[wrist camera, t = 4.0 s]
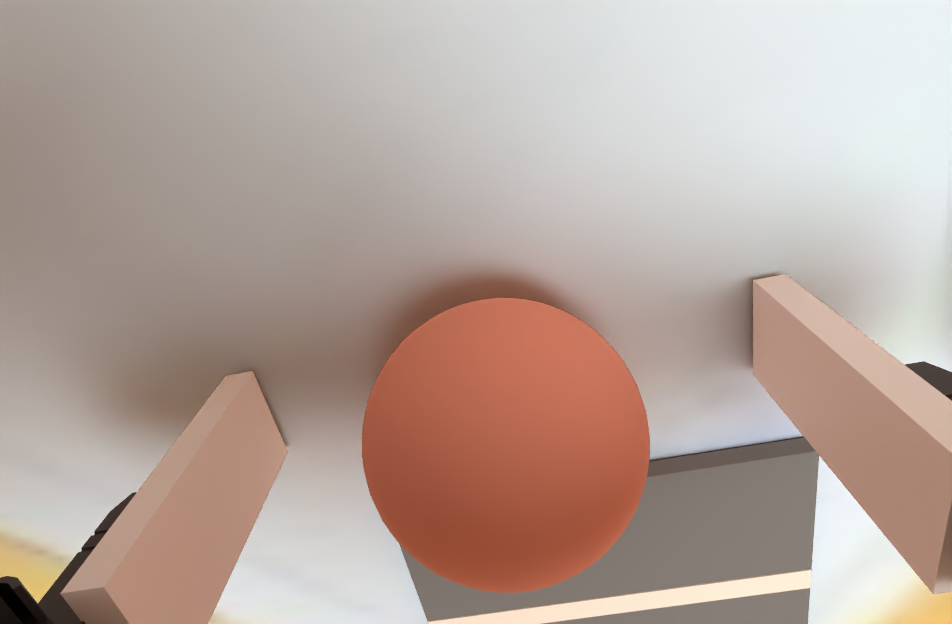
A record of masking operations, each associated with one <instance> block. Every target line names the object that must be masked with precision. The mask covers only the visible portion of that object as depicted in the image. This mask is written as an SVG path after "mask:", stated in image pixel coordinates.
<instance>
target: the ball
mask: <svg viewBox="0 0 952 624" xmlns="http://www.w3.org/2000/svg"><path fill="white" fill-rule="evenodd" d="M362 457H363V466H364V472H365V476H366V480H367V484H368V487H369V491H370V494H371V497H372V499H373V501H374V503H375V506H376V508H377V510H378V512H379V514H380V516H381V518H382V520H383V522H384V523H385V525H386V526H387V528H388V529H389V531H390V532H391V533H392V535H393V536H394V537H395V539H396V540H397V541H398V542H399V543H400V545H401V546H402V547H403V548H404V549H405V550H406V551H407V552H408V553H409V554H410V555H411V556H413V557H414V558H415V559H416V560H417V561H419V562H420V563H421V564H423V565H424V566H425V567H427V568H428V569H430V570H431V571H433V572H434V573H436V574H438V575H440V576H441V577H443V578H445V579H447V580H450V581H452V582H455V583H457V584H460V585H463V586H466V587H470V588H473V589H477V590H482V591H488V592H497V593H518V592H528V591H533V590H539V589H542V588H546V587H549V586H552V585H555V584H557V583H560V582H562V581H565V580H567V579H569V578H571V577H573V576H575V575H577V574H579V573H580V572H582V571H583V570H585V569H587V568H588V567H590V566H591V565H592V564H593V563H595V562H596V561H597V560H598V559H599V558H601V557H602V556H603V555H604V554H605V553H606V552H607V551H608V550H609V549H610V548H611V547H612V546H613V544H614V543H615V542H616V541H617V540H618V539H619V537H620V536H621V534H622V533H623V532H624V530H625V529H626V527H627V525H628V524H629V522H630V521H631V519H632V517H633V515H634V513H635V511H636V509H637V507H638V504H639V501H640V498H641V495H642V492H643V489H644V486H645V483H646V479H647V473H648V467H649V457H650V436H649V427H648V421H647V415H646V410H645V407H644V404H643V401H642V398H641V395H640V393H639V390H638V387H637V384H636V382H635V381H634V379H633V377H632V375H631V373H630V372H629V370H628V368H627V366H626V365H625V363H624V361H623V360H622V359H621V357H620V356H619V355H618V354H617V352H616V351H615V350H614V348H613V347H612V346H611V345H610V344H609V343H608V342H607V341H606V340H605V339H604V338H603V337H601V336H600V335H599V334H598V333H597V332H596V331H595V330H594V329H593V328H591V327H590V326H588V325H587V324H586V323H584V322H583V321H581V320H580V319H578V318H576V317H574V316H572V315H570V314H568V313H567V312H565V311H563V310H561V309H558V308H555V307H553V306H550V305H547V304H544V303H540V302H536V301H532V300H526V299H518V298H491V299H483V300H477V301H473V302H469V303H465V304H461V305H458V306H456V307H453V308H451V309H448V310H446V311H444V312H442V313H440V314H438V315H436V316H434V317H433V318H431V319H430V320H428V321H427V322H425V323H424V324H422V325H421V326H420V327H418V328H417V329H416V330H414V331H413V332H412V333H411V334H410V335H409V336H408V337H407V338H405V339H404V340H403V341H402V342H401V343H400V345H399V346H398V347H397V349H396V350H395V351H394V352H393V354H392V355H391V356H390V357H389V359H388V360H387V361H386V363H385V365H384V366H383V368H382V370H381V371H380V373H379V375H378V377H377V379H376V382H375V384H374V386H373V389H372V391H371V394H370V397H369V399H368V403H367V407H366V412H365V417H364V422H363V429H362Z"/></svg>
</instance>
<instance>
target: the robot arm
mask: <svg viewBox="0 0 952 624" xmlns="http://www.w3.org/2000/svg"><path fill="white" fill-rule="evenodd" d="M753 375H754V376H755V378H756V379H757V380H758V381H759V382H760V384H761V385H762V386H763V387H764V388H765V390H766V391H767V392H768V393H769V395H770V396H771V397H772V398H773V399H774V401H775V402H776V403H777V404H778V406H779V407H780V408H781V409H782V410H783V412H784V413H785V414H786V415H787V417H788V418H789V419H790V420H791V421H792V423H793V424H794V425H795V426H796V428H797V429H798V430H799V431H800V432H801V434H802V435H803V436H804V437H805V438H806V440H807V441H808V442H809V443H810V445H811V446H812V447H813V448H814V449H815V451H816V452H817V453H818V454H819V456H820V457H821V458H822V459H823V460H824V462H825V463H826V464H827V465H828V467H829V468H830V469H831V470H832V471H833V473H834V474H835V475H836V476H837V478H838V479H839V480H840V481H841V482H842V484H843V485H844V486H845V487H846V488H847V490H848V491H849V492H850V493H851V495H852V496H853V497H854V498H855V499H856V501H857V502H858V503H859V504H860V506H861V507H862V508H863V509H864V510H865V512H866V513H867V514H868V515H869V517H870V518H871V519H872V520H873V521H874V523H875V524H876V525H877V526H878V527H879V529H880V530H881V531H882V532H883V534H884V535H885V536H886V537H887V538H888V540H889V541H890V542H891V543H892V545H893V546H894V547H895V548H896V549H897V551H898V552H899V553H900V554H901V556H902V557H903V558H904V559H905V560H906V562H907V563H908V564H909V565H910V567H911V568H912V569H913V570H914V571H915V573H916V574H917V575H918V576H919V577H920V579H921V580H922V581H923V582H924V584H925V585H926V586H927V587H928V588H929V590H930V591H931V592H932V593H933V594H937V593H945V592H952V372H949V371H947V370H944V369H942V368H939V367H937V366H934V365H932V364H929V363H926V362H918V363H912V364H906V365H904V364H903V363H901V362H900V361H899V360H897V359H896V358H895V357H893V356H892V355H891V354H890V353H888V352H887V351H886V350H884V349H883V348H882V347H880V346H879V345H878V344H876V343H875V342H874V341H872V340H871V339H870V338H869V337H867V336H866V335H865V334H863V333H862V332H861V331H859V330H858V329H857V328H855V327H854V326H853V325H851V324H850V323H849V322H848V321H846V320H845V319H844V318H842V317H841V316H840V315H838V314H837V313H836V312H834V311H833V310H832V309H830V308H829V307H828V306H827V305H825V304H824V303H823V302H821V301H820V300H819V299H817V298H816V297H815V296H813V295H812V294H811V293H809V292H808V291H807V290H806V289H804V288H803V287H802V286H800V285H799V284H798V283H796V282H795V281H794V280H792V279H791V278H790V277H788V276H787V275H786V274H783V275H778V276H772V277H767V278H761V279H756V280H753ZM287 453H288V451H287V449H286V446H285V444H284V442H283V439H282V437H281V435H280V433H279V430H278V428H277V426H276V423H275V421H274V419H273V417H272V414H271V412H270V410H269V407H268V405H267V403H266V400H265V398H264V396H263V394H262V391H261V389H260V387H259V384H258V382H257V380H256V378H255V375H254V373H253V371H249V372H243V373H238V374H232V375H227V376H225V377H224V378H223V380H222V381H221V382H220V384H219V385H218V386H217V388H216V389H215V390H214V392H213V393H212V394H211V395H210V397H209V398H208V399H207V401H206V402H205V403H204V405H203V406H202V407H201V409H200V410H199V411H198V413H197V414H196V415H195V417H194V418H193V419H192V420H191V422H190V423H189V424H188V426H187V427H186V428H185V430H184V431H183V432H182V434H181V435H180V436H179V438H178V439H177V440H176V442H175V443H174V444H173V446H172V447H171V448H170V449H169V451H168V452H167V453H166V455H165V456H164V457H163V459H162V460H161V461H160V463H159V464H158V465H157V467H156V468H155V469H154V471H153V472H152V473H151V475H150V476H149V477H148V478H147V480H146V481H145V482H144V484H143V485H142V486H141V488H140V489H139V490H138V492H135V493H132V494H131V495H129V496H128V497H127V498H126V499H125V500H123V501H122V502H121V503H120V504H119V505H118V506H116V507H115V508H114V509H113V510H112V511H110V513H109V514H108V515H107V516H106V518H105V519H104V520H103V521H102V523H101V524H100V525H99V527H98V528H97V529H96V530H95V535H93V536H91V537H90V538H89V539H88V541H87V542H86V543H85V544H84V546H83V547H82V551H81V552H78V553H77V555H76V556H75V557H74V558H73V560H72V561H71V562H70V564H69V565H68V566H67V567H66V569H65V570H64V571H63V572H62V574H61V575H60V576H59V578H58V579H57V580H56V581H55V583H54V584H53V585H52V586H51V588H50V589H49V590H48V592H47V593H46V594H45V595H44V597H43V598H42V599H41V600H40V602H39V603H37V602H36V601H35V600H34V598H33V597H32V596H31V594H30V593H29V592H28V591H27V589H26V588H25V587H24V586H23V584H22V583H21V582H20V580H19V579H18V578H16V577H10V576H6V577H1V578H0V624H208V622H209V620H210V618H211V616H212V614H213V612H214V610H215V607H216V605H217V603H218V601H219V599H220V597H221V595H222V592H223V590H224V588H225V586H226V584H227V582H228V579H229V577H230V575H231V573H232V571H233V569H234V567H235V564H236V562H237V560H238V558H239V556H240V554H241V552H242V549H243V547H244V545H245V543H246V541H247V539H248V537H249V534H250V532H251V530H252V528H253V526H254V524H255V522H256V519H257V517H258V515H259V513H260V511H261V509H262V506H263V504H264V502H265V500H266V498H267V496H268V494H269V491H270V489H271V487H272V485H273V483H274V481H275V479H276V476H277V474H278V472H279V470H280V468H281V466H282V464H283V461H284V459H285V457H286V455H287Z"/></svg>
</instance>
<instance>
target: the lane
mask: <svg viewBox="0 0 952 624" xmlns="http://www.w3.org/2000/svg"><path fill="white" fill-rule="evenodd" d="M818 462H819V454H818V453H817V452H816V451H815V449H814V448H813V447H812V446H811V445H810V443H809V442H808V441H807V440H806V438H805V437H803V438H796V439H790V440H784V441H777V442H771V443H764V444H758V445H752V446H745V447H739V448H732V449H726V450H720V451H713V452H707V453H700V454H694V455H688V456H681V457H675V458H668V459H662V460H656V461H649V467H648V473H647V479H646V483H645V486H644V489H643V492H642V495H641V498H640V501H639V504H638V507H637V509H636V511H635V513H634V515H633V517H632V519H631V521H630V522H629V524H628V525H627V527H626V529H625V530H624V532H623V533H622V534H621V536H620V537H619V539H618V540H617V541H616V542H615V543H614V544H613V546H612V547H611V548H610V549H609V550H608V551H607V552H606V553H605V554H604V555H603V556H602V557H601V558H599V559H598V560H597V561H596V562H595V563H593V564H592V565H591V566H590V567H588V568H587V569H585V570H583V571H582V572H580V573H579V574H577V575H575V576H573V577H571V578H569V579H567V580H565V581H562V582H560V583H557V584H555V585H552V586H549V587H546V588H542V589H539V590H533V591H528V592H518V593H497V592H488V591H482V590H477V589H473V588H470V587H466V586H463V585H460V584H457V583H455V582H452V581H450V580H447V579H445V578H443V577H441V576H440V575H438V574H436V573H434V572H433V571H431V570H430V569H428V568H427V567H425V566H424V565H423V564H421V563H420V562H419V561H417V560H416V559H415V558H414V557H413V556H411V555H410V554H409V553H408V552H407V551H406V550H405V549H404V548H403V547H402V546H401V545H400V547H401V549H402V552H403V555H404V558H405V560H406V563H407V566H408V569H409V571H410V574H411V577H412V579H413V582H414V585H415V588H416V590H417V593H418V596H419V599H420V601H421V604H422V607H423V610H424V612H425V615H426V618H427V621H428V624H808V611H809V596H810V588H811V577H812V569H811V566H812V551H813V536H814V522H815V507H816V492H817V477H818ZM399 544H400V543H399Z"/></svg>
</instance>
